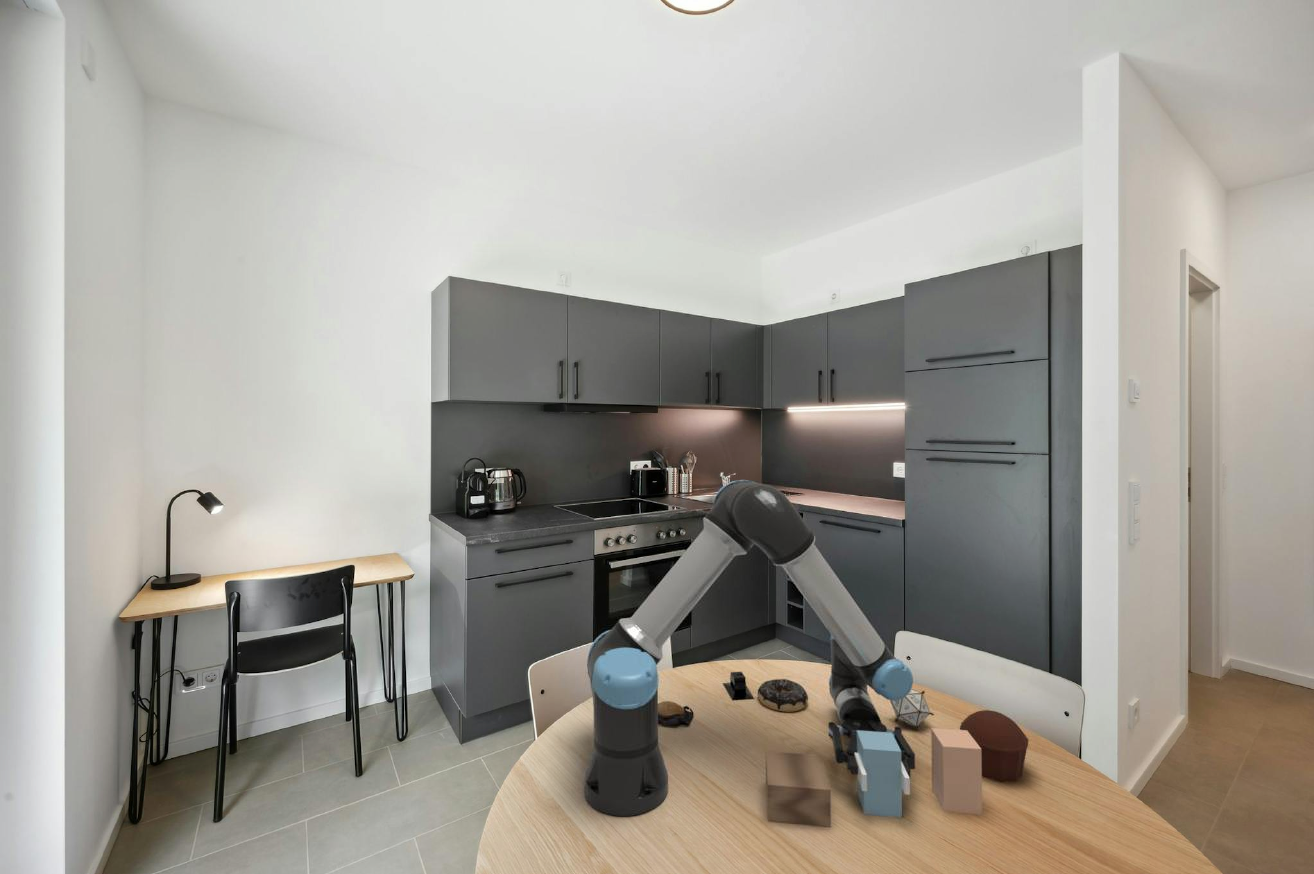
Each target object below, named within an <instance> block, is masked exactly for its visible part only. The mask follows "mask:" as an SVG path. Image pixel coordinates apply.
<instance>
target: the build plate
mask: <svg viewBox="0 0 1314 874" xmlns="http://www.w3.org/2000/svg"><path fill="white" fill-rule="evenodd" d="M729 677H730V678H729V679H730V682H723V683H722V686H723V687H724V689H725V691H726V692H727V694H728V695H729V697H730V699H731V701H746V700H748V701H749V700H755V697H754V695H753V693H751V691H750V688H748V686H747V681H746V676H745V675H744V673H743V671H733V672H730V676H729Z"/></svg>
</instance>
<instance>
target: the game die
mask: <svg viewBox="0 0 1314 874" xmlns="http://www.w3.org/2000/svg"><path fill="white" fill-rule="evenodd" d="M925 692H926V690H922V691H921V692H920V691H917V690H915V689H912V688H911V691H910V692H909V693H908V694H907V696H905V697H904V698H903V699H901V700H897V701H892V700H888V699H886V700H887V701H890V704H891V706H892V709H893V711H894V714H895V716H896V718H895V719H894V722H898V721H901V722H903V723H906V724H907V725H910V726H912V727H914V729H915V731H917V732H919V731H918V730H919V728H918V726H919V725H920V724H922V723H923V721H925V720H926V719H927V718H928V716H935V714H934V712H930V709H929V706H928V703H927V701H926V698H925V696H924V695H925Z"/></svg>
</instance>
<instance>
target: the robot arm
mask: <svg viewBox="0 0 1314 874" xmlns="http://www.w3.org/2000/svg"><path fill="white" fill-rule="evenodd" d="M702 521H703V530H701V532H700V533H699V534H698V536H697V537H696V538H695V539H694V540H693V542H692V543H691V544H690V545H689V547H687V549H685V552H684V553H683V554H682V555H681V556H680V557H679V559H678V560H677V561H676V563H674V565H673V566H672V567H671V568H670V570H669V571H668V572H667V573H666V574H665V576H663V578H662V579H661V581H660V582H659V583H658V584H657V585H656V587H655V588H654V589H653V590H652V591H651V593H650V594H649V595H648V596H647V598H646V599H645V600H644V601H643V602H642V603H641V604H640V606H638V609H636V610H635V612H634V613H633V615H631V617H626V618H623V617H622V618H620V619H619V620H618V621H617V622H616V624H615V625H614V626H613V627H612V629H609V630H606V631H604V632H602V633H601V634H599V635H598V636H597V637H596V638H595V639H594V641H593V642H592V644H591V646H590V649H589V651H588V653H587V654H588V655H587V660H586V661H587V662H586V669H587V675H588V678H589V684H590V690H591V695H592V705H593V750H592V752H591V756H590V759H589V762H588V766H587V768H586V769H587V770H586V773H585V775H584V796H585V799H586V801H587V802H588V804H589V805H590V806H591V807H592V808H593V809H595V810H597V811H599V812H601V813H604V814H607V815H611V816H617V817H619V816H620V817H628V816H629V817H631V816H637V815H641V814H644V813H647V812H649V811H651V810H654V809H655V808H657V807H658V806H659V805H661V803H663V801H664V800H665V799H666V797H667V795H668V792H669V774H668V770H667V766H666V764H665V761H664V760H665V759H664V758H663V754H662V751H661V748H660V745H659V726H658V704H659V696H658V692H659V691H658V689H659V688H658V687H659V672H658V666H657V665H658V664H659V662H661V660H662V659H663V646H664V644H665V643H666V642H667V641H668V639H669V638H670V637H671V636H672V635H673V633H674V632H675V631H676V629H677V628H679V626H680V624H681V623H682V622H683V620H685V619H686V617H687V616H688V615H689V613H690V612H691V611H692V610H693V609H694V607H695V606H696V605H697V604H698V602H699V601H700V600H701V598H702V597H704V595H705V594H706V593H707V591H708V590H709V589H710V587H711V586H712V585H713V584H714V582H715V581H716V580H717V579H718V578H719V577H720V576H721V574H722V572H723V571H724V570H726V568H727V567H728V566H729V564H730V563H731V562H732V560H733V559H734V558H735V557H736V556H743V555H746V554H747V553H748V552H749V551H750V550H751V549H752V547H753V546H754V545H755V546H757V547H758V548H759V549H760V550H761V551H762V552H764V554H766V557H767V558H768V559H769V560H770V561H771V563H772V565H774V566H777V567H781V568H782V569H783V570H784V571H785V573H786V575H788V577H789V578H790V580H791V581H792V582H793V584H794V585H795V587H796V588H797V590H798V591H799V592H800V593H801V595H802V596H803V597H804V599H805V600H806V602H807V603H808V604H809V606H810V607H811V608H812V609H813V611H814V612H815V614H816V615H817V617H818V618H819V620H820V621H821V622H822V623H823V625H824V627H826V629H827V630H828V632H829V633H830V637H829V640H830V656H831V658H830V659H831V661H830V663H831V669H830V672H831V674H830V676H829V680H828V686H829V687H828V688H829V693H830V696H831V698H832V700H833V703H834V706H835V709H836V713H837V715H838V719H839V721H840V725H837V724H836V723H835V722H834V721H829V722H828V737H829V738H830V740H832V744H833V750H834V757H835V762H836V763H837V764H843V763H846V769H847V770H848V771H849V772H850V774H852V775H856V778H857V777H858V780H859V783H860V786H861V789H862V791H867V774H866V771H865V768H864V766H863V764H862V761H861V758H860V755H859V753H857V730H859V731H874V732H888V733H892V734H893V736H894V738H895V740H896V742H897V744H898V746H899V748H900V750H901V787H902V792H903V794H904V795H907V796H911V783H910V782H911V770H915V768H916V758H915V757H916V756H915V755H916V754H915V753H914V751H913V749H912V748H911V746H910V744H909V743H908V742H907V739H906V738H905V737H904V735H903V734H902V733H903V731H902V728H901V726H894V728H893V729H890V728H887V726H886V725H885V724H883V723H882V720H881V717H880V716H879V714H878V712H877V710H876V707H875V705H874V703H873V701H872V699H871V697H870V694H869V693H868V692H869V691H868V687H870V688H871V689H872V690H873V691H874V692H875V694H877V695H879V696H881V697H883V698H884V699H886V700H887V699H888V700H887V701H890V700H892V701H897V700H901V699H903V698H904V697H905V696H907V694H908V693H909V692H910V691H911V689H912V688H913V685H914V677H913V674H912V672H911V670H910V668H909V666H907V665H906V664H905V663H904V662H903V661H902V660H900V659H897V658H896V657H895V656H894V654H893V653H892V651H891V650H890V649H889V648H888V646H887V644H885V642H884V641H883V640H882V638H881V636H880V635H879V634H878V633H877V630H876V629H875V628H874V627H873V625H872V624H871V623H870V621H869V620H868V619H867V616H865V614H864V612H863V611H862V610H861V608H860V607H859V606H858V604H857V603H856V601H855V600H854V599H853V597H852V596H851V594H850V593H849V591H848V590H847V589H846V587H845V586H844V584H843V583H842V582H841V580H840V578H838V576H837V575H836V573H835V572H834V570H833V569H832V568H831V566H830V565H829V563H828V562H827V561H826V559H825V557H823V555H822V553H821V552H820V550H819V549H818V548H817V546H816V544H815V543H816V536H815V534H814V533H813V531H812V530H811V528H810V527H809V525H807V523H806V521H805V520H804V519H803V517H802V516H801V514H800V513H799V511H798V510H797V509H796V507H795V506H794V505H793V503H792V502H791V500H790V499H789V498H787V496H786V495H785V494H784V493H783V492H782V491H781V490H779V489H777V488H776V487H774V486H772V485H768V484H765V483H764V484H763V483H762V484H761V483H758V482H755V481H752V480H746V479H740V480H733V481H731V482H729V483H726V484H725V485H723V486H722V487H721V488H719V490H718V491H717V493H716V494H715V496H714V499H713V501H712V508H711V509H710V510H709V511H708V512H707V513H706V515H704V517H703V520H702ZM842 735H843V736H845V737H847V738H849V741H848V745H847V750H844V748H843V742H842V741H843V740H842V737H841V736H842Z"/></svg>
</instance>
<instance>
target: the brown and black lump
mask: <svg viewBox="0 0 1314 874" xmlns="http://www.w3.org/2000/svg"><path fill="white" fill-rule="evenodd" d="M694 716H695V713H694V710H692V708H691V707H689V705H684V706H681V705H679V704H678V703H676V702H674V701H671V700H669V701H667V700H665V701H664V700H663V701H661V702H658V727H666V728H683V729H684V728H685V729H686V728H690V726H691V723H692V721H693V719H694Z"/></svg>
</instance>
